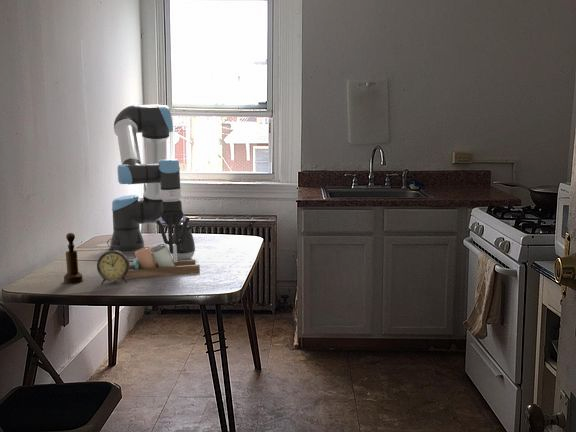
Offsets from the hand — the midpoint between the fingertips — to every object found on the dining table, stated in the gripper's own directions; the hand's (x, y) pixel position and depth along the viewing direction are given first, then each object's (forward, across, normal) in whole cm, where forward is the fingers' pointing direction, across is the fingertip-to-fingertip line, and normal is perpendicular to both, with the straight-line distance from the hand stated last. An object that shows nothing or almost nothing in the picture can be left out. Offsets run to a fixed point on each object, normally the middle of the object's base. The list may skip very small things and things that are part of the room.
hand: (175, 261), depth 263 cm
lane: (+4, -6, +1) cm, 7 cm away
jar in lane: (+3, -10, +1) cm, 10 cm away
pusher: (+3, -18, +1) cm, 18 cm away
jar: (+3, -3, 0) cm, 4 cm away
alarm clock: (+4, -24, -8) cm, 25 cm away
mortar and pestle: (+4, -38, -1) cm, 38 cm away
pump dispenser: (+4, +7, +22) cm, 23 cm away
